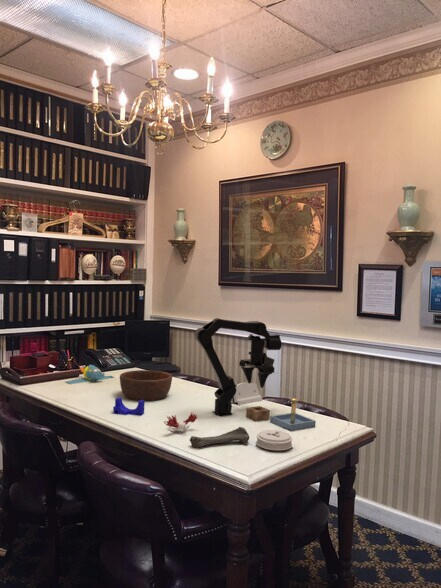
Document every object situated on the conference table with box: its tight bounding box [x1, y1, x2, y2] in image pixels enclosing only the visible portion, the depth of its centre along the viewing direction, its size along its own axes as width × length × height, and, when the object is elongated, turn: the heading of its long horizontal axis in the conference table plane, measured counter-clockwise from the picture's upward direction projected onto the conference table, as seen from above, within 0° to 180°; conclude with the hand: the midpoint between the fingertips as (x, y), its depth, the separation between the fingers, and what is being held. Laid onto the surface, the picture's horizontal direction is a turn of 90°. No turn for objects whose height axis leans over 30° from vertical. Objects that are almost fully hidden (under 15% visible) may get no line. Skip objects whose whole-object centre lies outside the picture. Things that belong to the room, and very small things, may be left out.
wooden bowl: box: [119, 369, 173, 402], centre depth 239 cm, size 25×25×10 cm
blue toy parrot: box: [64, 364, 115, 385], centre depth 267 cm, size 28×9×15 cm
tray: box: [269, 412, 317, 432], centre depth 202 cm, size 13×13×2 cm
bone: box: [189, 426, 250, 448], centre depth 175 cm, size 22×6×6 cm, turn 112°
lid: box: [255, 429, 293, 451], centre depth 175 cm, size 13×13×5 cm
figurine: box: [163, 411, 198, 433], centre depth 188 cm, size 15×12×7 cm
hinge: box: [231, 381, 263, 406], centre depth 237 cm, size 17×5×10 cm, turn 132°
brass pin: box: [289, 397, 299, 423], centre depth 202 cm, size 3×3×10 cm
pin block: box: [245, 405, 271, 423], centre depth 209 cm, size 7×7×4 cm
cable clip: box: [112, 396, 146, 417], centre depth 208 cm, size 12×4×6 cm, turn 76°
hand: (255, 385), depth 217 cm, fingers open, 9 cm apart
